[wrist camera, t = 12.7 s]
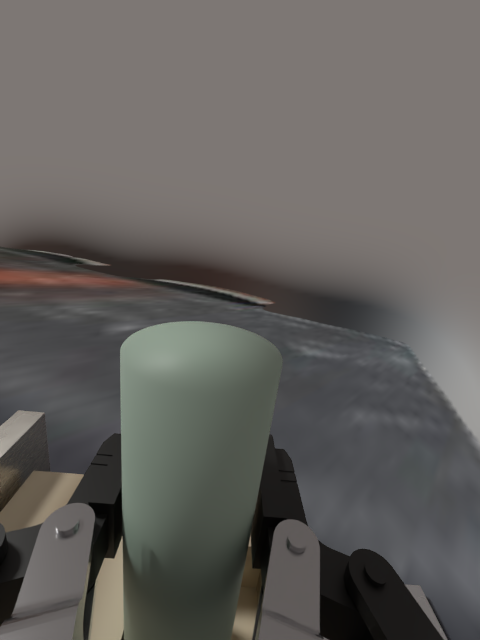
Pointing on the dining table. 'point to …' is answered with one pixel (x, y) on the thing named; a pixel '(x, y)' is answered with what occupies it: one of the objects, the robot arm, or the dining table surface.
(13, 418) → the rail base
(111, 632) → the socket block
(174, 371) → the dowel
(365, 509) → the dining table surface
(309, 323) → the dining table surface
